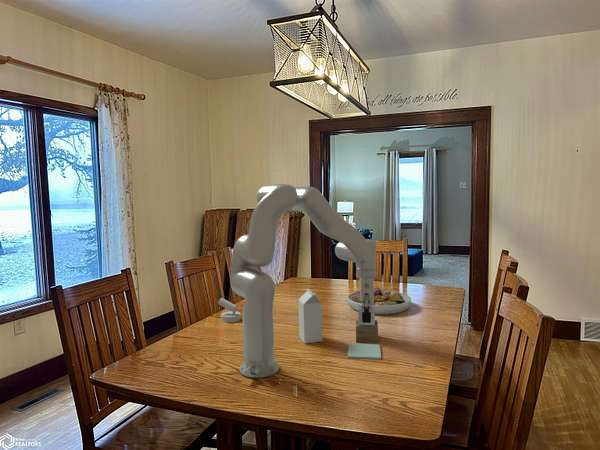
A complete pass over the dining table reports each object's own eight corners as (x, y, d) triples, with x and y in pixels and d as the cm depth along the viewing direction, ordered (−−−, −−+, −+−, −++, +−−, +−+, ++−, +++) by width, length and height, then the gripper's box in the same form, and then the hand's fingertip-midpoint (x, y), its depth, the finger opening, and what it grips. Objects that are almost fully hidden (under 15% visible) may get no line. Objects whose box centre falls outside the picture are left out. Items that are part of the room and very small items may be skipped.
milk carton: (304, 344, 155) (303, 293, 153) (299, 337, 162) (298, 289, 160) (322, 341, 157) (321, 291, 155) (316, 335, 164) (316, 287, 162)
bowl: (424, 311, 193) (424, 294, 193) (367, 320, 182) (367, 302, 182) (387, 296, 221) (387, 282, 220) (336, 303, 210) (336, 288, 209)
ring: (374, 325, 155) (374, 309, 155) (358, 325, 156) (358, 309, 156) (374, 320, 161) (374, 305, 161) (358, 320, 162) (358, 305, 162)
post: (378, 342, 155) (377, 302, 153) (356, 342, 156) (355, 302, 155) (377, 335, 163) (377, 297, 161) (356, 334, 164) (356, 296, 162)
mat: (381, 359, 140) (381, 357, 140) (347, 357, 141) (347, 356, 141) (379, 345, 152) (379, 344, 152) (349, 344, 153) (349, 343, 153)
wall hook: (223, 295, 192) (243, 296, 188) (224, 315, 192) (244, 317, 189) (213, 300, 184) (234, 301, 180) (214, 321, 184) (235, 323, 181)
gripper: (377, 277, 148) (377, 327, 149) (375, 268, 165) (375, 313, 166) (355, 277, 149) (356, 326, 151) (356, 268, 166) (356, 312, 168)
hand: (366, 319), depth 158 cm, fingers closed on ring, 6 cm apart
